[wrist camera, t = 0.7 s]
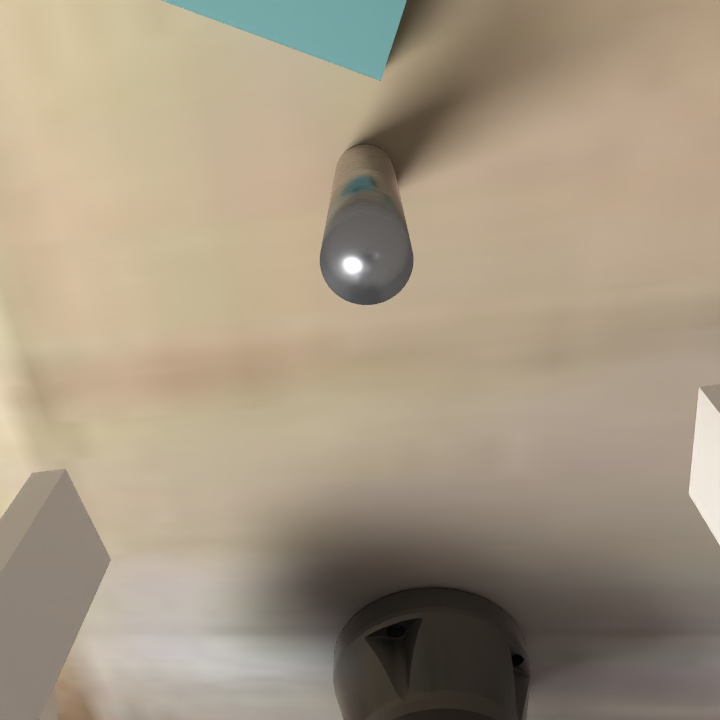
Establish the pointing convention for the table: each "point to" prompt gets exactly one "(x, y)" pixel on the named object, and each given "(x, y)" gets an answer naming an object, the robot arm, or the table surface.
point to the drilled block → (316, 26)
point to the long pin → (366, 230)
